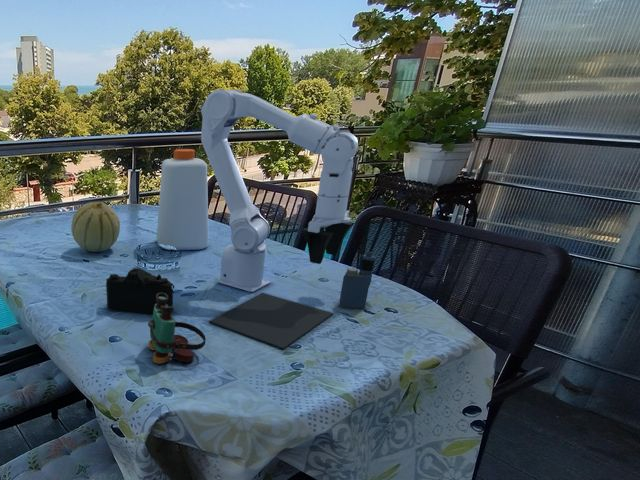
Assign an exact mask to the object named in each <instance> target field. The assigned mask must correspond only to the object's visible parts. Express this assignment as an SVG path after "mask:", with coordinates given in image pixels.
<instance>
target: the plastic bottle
mask: <svg viewBox="0 0 640 480" xmlns="http://www.w3.org/2000/svg"><path fill="white" fill-rule="evenodd" d="M208 194H209V191H208V163H207V162H205V160H204V159H202V158H197V157H196V150H195V149H192V148H181V149H180V148H179V149H178V148H177V149H174V150H173V158H166V159H164V160H163V161H162V163H161V173H160V188H159V199H158V200H159V201H158V213H157V225H156V240H157V241H156V242H157V245H159V244H163V245H170V246H173V247H175V248H176V249H177V250H176V251H199V250H203V249H206V248H207V247H208V246H209V243H210V240H209V239H210V238H209V235H210V234H209V233H210V232H209V196H208Z"/></svg>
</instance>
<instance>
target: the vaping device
mask: <svg viewBox="0 0 640 480" xmlns="http://www.w3.org/2000/svg"><path fill="white" fill-rule="evenodd" d="M373 253H374V252H373V251H371V250H367V251H366V253H364V254H362V256H361V260H360V261H361V262H360V267H359V269H358V268H356V267H348V268H347V269H346V272H345V274H344V275H343V278H342V284H341V289H340V295H339V306H341V307H343V308H346V309H350V308H351V309H366V304H367V299H368V294H369V290H370V289H369V288H370V285H371V283H372V278H373V271H374V266H375V262H376V256H375V255H373Z"/></svg>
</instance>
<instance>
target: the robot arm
mask: <svg viewBox="0 0 640 480" xmlns="http://www.w3.org/2000/svg"><path fill="white" fill-rule="evenodd" d="M200 113H201V116H202V121H201V133H200V141H201V145H202V147H203V149H204V151H205V154H206V157H207V159H208V162H209V164H210V166H211V169H212V171H213V175H214V176H215V179H216V181H217V184H218V186H219V189H220V192H221V194H222V197H223V199H224V201H225V204H226V206H227V209H228V212H229V222H228V224H229V225H228V226H229V227H230V231H231V234H230V241H231V243H232V244H229V245H227V246H226V247H225V248H224V250H223V252H222V255H221V261H220V264H221V265H220V278H219V280H218V283H219V284H222V285H225V286H229V287H232V288H236V289H239V290H242V291H246V292H250V293H254V292H256V291H258V290H259V289H262V288H263V287H265V286H268V285H269V284H271V282H270V281H269V280H266V279H264V271H265V260H266V253H267V252H266V251H267V250H266V249H267V245H266V243H265V241H266V239H268V237H269V236H270V234H271V233H270V232H271V227H270V223H269V222H268V220H267V219H265V218H264V217H263V216H262V215H261V212H260V209H259V208H258V207H257V206H255V205H254V204H253V202H252V199H251V197H250V194H249V191H248V189H247V187H246V184H245V181H244V179H243V176H242V174H241V171H240V169H239V167H238V164H237V161H236V159H235V156H234V153H233V151H232V148H231V146H230V143H229V141H228V138H229V135H230V134H231V131H232V129H233V127H234V125H235V124H236V123H237V122H238V121H239V120H240V119H241V118H254V119H257V120H259V121H260V122H263V123H265V124H267V125H270V126H273V127H275V128H277V129H279V130H281V131H283V132H286V134H287V137H288V140H289V142H290V143H293V144H295V145H297V146H299V147H301V148H303V149H305V150H307V151H309V152H310V153H313V154H315V155H320V156H321V158H322V160H323V161H322V169H321V171H320V178H319V185H318V193H317V198H316V206H315V212H314V213H315V214H314V215H313V217H312V219H311V220H310V221H309V222H308V227H305V228H303V229H302V235H303V237H304V239H305V241H306V243H307V249H308V256H309V262H310V263H312V264H317V265H320V264H322V262H323V260H324V256H325V254H326V255H331V256H337V255H338V254H339V251H340V249H341V246H342V244H343V242H344V240H345V237H346V235H347V234H348V232H349V231H350V230H351V229H352V227H353V225H354V223H353V222H352V217H349V216H350V210H347V208H348V202H349V196H350V190H351V184H352V177H353V167H354V158H353V157H354V156H355V155H356V153H357V152H358V149H359V142H358V141H359V140H358V138H357V137H356V136H355V135H354V134H353V133H351V132H350V131H349V130H340V129H341V127H340V126H339V125H337V124H335V125H334V126H332V125H330V124H328V123H326V122H324V121H321V120H320V119H318V118H319V115H318V114H316V113H310V114H307V113H303V114H300V115H297V116H295V115H293V114H291V113H290V112H287V111H286V110H283V109H282V108H280V107H277V106H276V105H274V104H272V103H270V102H269V101H266V100H264V99H262V98H261V97H259V96H257V95H254V94H251V93H247V92H243V91H241V90H239V89H234V88H233V89H222V88H221V89H220V88H219V89H215V90H212V91H211V92H210V93H209V94H208V96H206V99H205V100H204V102H203V105H202V107H201V109H200Z"/></svg>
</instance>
